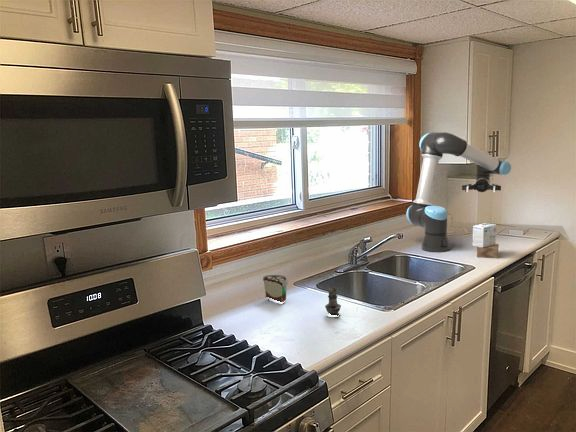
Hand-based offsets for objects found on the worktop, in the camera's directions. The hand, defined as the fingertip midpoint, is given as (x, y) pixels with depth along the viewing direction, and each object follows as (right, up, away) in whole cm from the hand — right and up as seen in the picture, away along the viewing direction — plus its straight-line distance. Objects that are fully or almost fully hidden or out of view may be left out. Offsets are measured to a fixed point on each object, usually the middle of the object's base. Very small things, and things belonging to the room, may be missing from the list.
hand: (480, 189), depth 256 cm
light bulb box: (-3, -30, -12) cm, 32 cm away
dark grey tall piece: (-88, -52, -82) cm, 131 cm away
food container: (-109, -49, -64) cm, 135 cm away
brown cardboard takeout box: (-1, -35, -12) cm, 37 cm away
